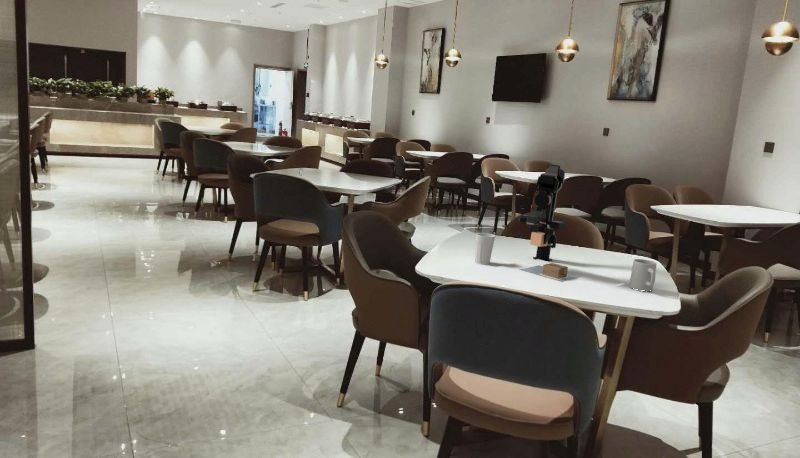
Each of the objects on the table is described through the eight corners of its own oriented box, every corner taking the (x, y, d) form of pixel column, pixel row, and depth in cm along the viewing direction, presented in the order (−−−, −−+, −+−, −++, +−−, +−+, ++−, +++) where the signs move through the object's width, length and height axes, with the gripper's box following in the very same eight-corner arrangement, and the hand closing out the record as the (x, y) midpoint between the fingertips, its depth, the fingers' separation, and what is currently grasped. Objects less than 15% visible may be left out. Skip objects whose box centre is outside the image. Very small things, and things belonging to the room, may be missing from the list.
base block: (551, 272, 247) (552, 262, 247) (566, 276, 243) (567, 266, 242) (541, 274, 242) (543, 264, 242) (557, 278, 238) (558, 268, 237)
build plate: (539, 266, 259) (539, 265, 258) (582, 278, 245) (582, 276, 245) (518, 271, 247) (518, 269, 247) (561, 283, 234) (562, 281, 233)
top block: (536, 243, 254) (538, 231, 254) (547, 245, 251) (548, 234, 250) (530, 244, 251) (531, 232, 250) (540, 246, 247) (542, 234, 247)
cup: (491, 266, 251) (494, 237, 249) (472, 263, 253) (475, 235, 251) (492, 261, 259) (495, 234, 257) (473, 259, 260) (476, 232, 258)
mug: (624, 285, 240) (629, 258, 238) (644, 286, 242) (649, 259, 240) (640, 294, 229) (645, 266, 227) (661, 295, 230) (666, 267, 228)
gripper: (513, 201, 249) (509, 239, 252) (553, 209, 236) (547, 248, 239) (529, 201, 257) (524, 237, 259) (568, 208, 244) (562, 246, 246)
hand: (539, 242), depth 251 cm, fingers closed on top block, 5 cm apart
